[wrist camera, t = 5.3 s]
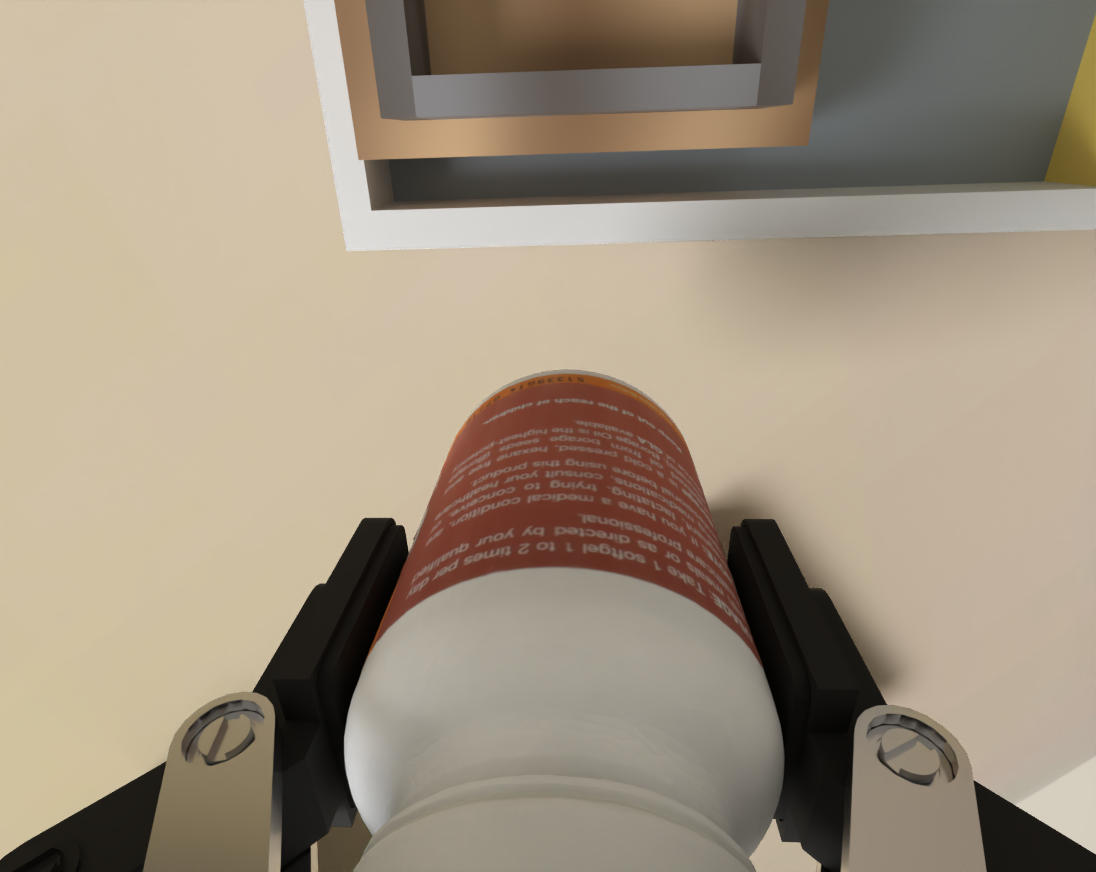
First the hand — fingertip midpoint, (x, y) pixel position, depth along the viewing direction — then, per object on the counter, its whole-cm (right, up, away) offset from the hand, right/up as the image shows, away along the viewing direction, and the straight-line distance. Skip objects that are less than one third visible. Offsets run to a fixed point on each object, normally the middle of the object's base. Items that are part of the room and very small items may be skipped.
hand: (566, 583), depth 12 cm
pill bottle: (0, +2, +4) cm, 4 cm away
